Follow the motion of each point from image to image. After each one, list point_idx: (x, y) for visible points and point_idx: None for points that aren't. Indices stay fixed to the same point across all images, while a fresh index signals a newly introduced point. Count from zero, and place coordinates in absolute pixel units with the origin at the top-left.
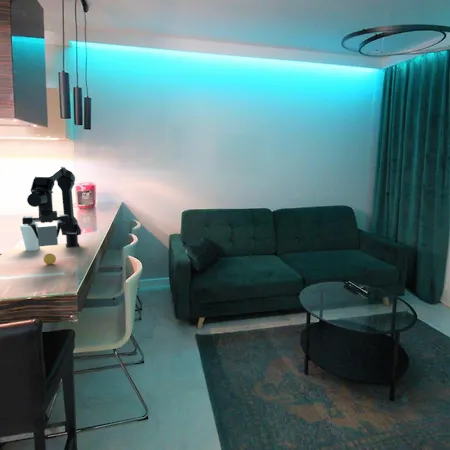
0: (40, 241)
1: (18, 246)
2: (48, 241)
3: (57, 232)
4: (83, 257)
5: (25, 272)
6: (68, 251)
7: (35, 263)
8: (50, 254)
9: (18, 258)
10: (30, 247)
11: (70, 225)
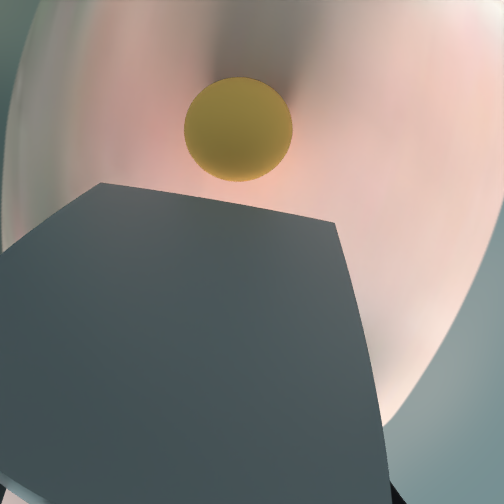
0: (312, 253)
1: None
2: (186, 222)
3: None
4: (37, 185)
5: (436, 38)
6: None
7: (333, 212)
8: (223, 115)
9: (374, 361)
10: None
11: None
